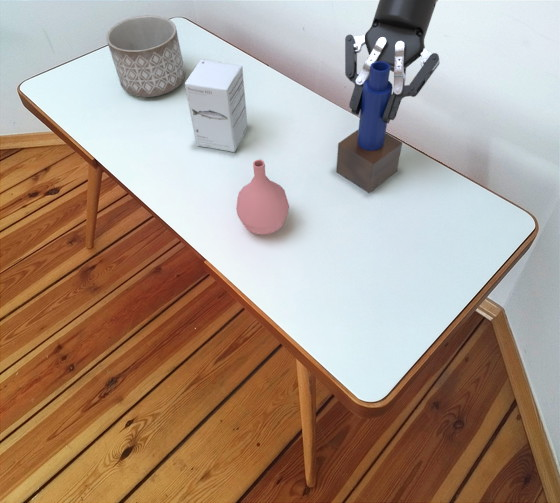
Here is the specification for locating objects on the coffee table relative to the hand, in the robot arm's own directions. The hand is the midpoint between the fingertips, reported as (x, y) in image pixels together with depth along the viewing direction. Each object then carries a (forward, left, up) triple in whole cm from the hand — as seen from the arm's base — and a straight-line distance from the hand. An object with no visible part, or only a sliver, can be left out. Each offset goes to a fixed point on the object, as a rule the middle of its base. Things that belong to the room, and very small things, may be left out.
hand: (370, 117), depth 74 cm
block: (0, -2, -12) cm, 12 cm away
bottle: (0, -2, -6) cm, 6 cm away
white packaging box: (+26, 0, -12) cm, 29 cm away
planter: (+47, -9, -12) cm, 49 cm away
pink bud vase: (+10, +15, -12) cm, 22 cm away
